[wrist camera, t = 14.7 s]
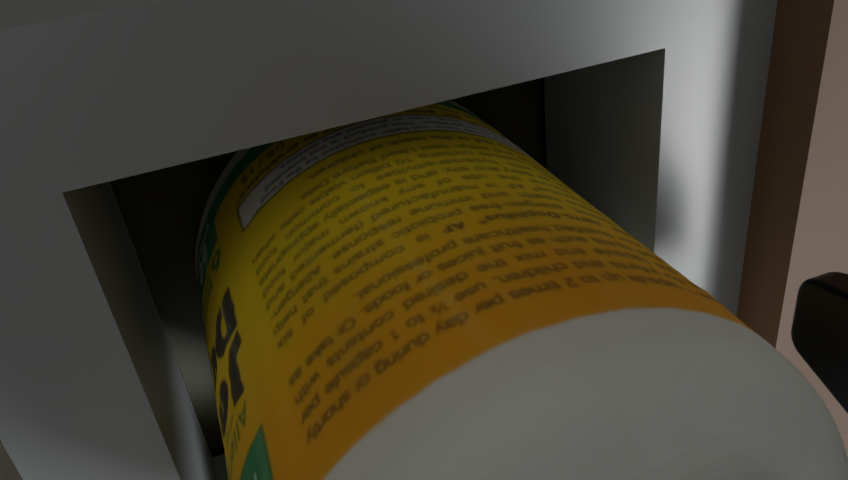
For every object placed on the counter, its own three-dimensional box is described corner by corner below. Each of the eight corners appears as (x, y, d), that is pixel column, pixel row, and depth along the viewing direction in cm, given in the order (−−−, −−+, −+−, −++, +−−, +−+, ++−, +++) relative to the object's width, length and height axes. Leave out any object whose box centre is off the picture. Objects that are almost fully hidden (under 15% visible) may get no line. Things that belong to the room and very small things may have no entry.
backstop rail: (806, -814, 8) (1303, -1279, 5) (676, 531, 19) (791, 677, 16) (641, -826, 7) (1063, -1357, 4) (608, 560, 19) (713, 716, 15)
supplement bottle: (541, 291, 14) (1103, 910, 6) (274, 420, 13) (508, 1326, 5) (471, 15, 11) (1412, 514, 3) (119, 160, 10) (119, 1360, 2)
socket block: (633, -131, 10) (792, -118, 8) (618, 378, 15) (713, 483, 13) (-112, -2, 8) (-213, 70, 6) (149, 545, 13) (155, 711, 11)
